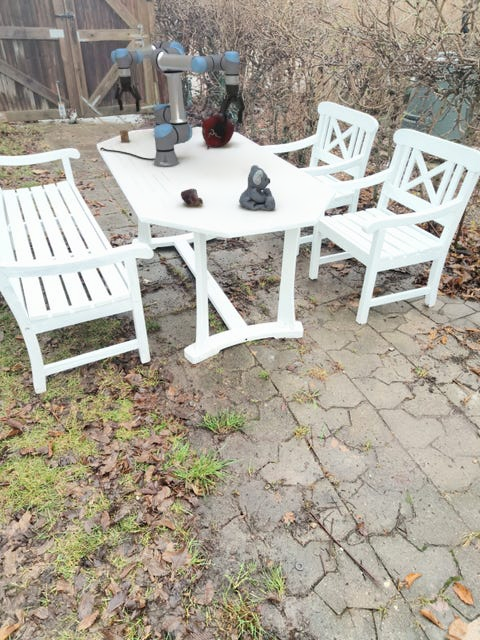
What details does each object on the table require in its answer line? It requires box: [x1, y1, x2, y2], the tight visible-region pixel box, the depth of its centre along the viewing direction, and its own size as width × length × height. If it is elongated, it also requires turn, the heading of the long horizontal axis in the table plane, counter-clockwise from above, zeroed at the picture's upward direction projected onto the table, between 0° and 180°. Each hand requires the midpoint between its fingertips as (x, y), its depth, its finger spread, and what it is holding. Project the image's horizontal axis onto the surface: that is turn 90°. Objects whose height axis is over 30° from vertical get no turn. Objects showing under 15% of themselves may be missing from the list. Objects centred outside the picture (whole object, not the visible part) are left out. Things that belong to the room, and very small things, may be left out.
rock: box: [180, 188, 204, 207], centre depth 229 cm, size 12×9×10 cm
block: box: [119, 129, 130, 144], centre depth 343 cm, size 6×5×8 cm
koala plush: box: [238, 164, 276, 211], centre depth 224 cm, size 17×18×20 cm
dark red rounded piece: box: [200, 114, 235, 150], centre depth 329 cm, size 21×24×25 cm
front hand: (232, 124), depth 262 cm, fingers open, 13 cm apart
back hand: (129, 110), depth 308 cm, fingers open, 13 cm apart
